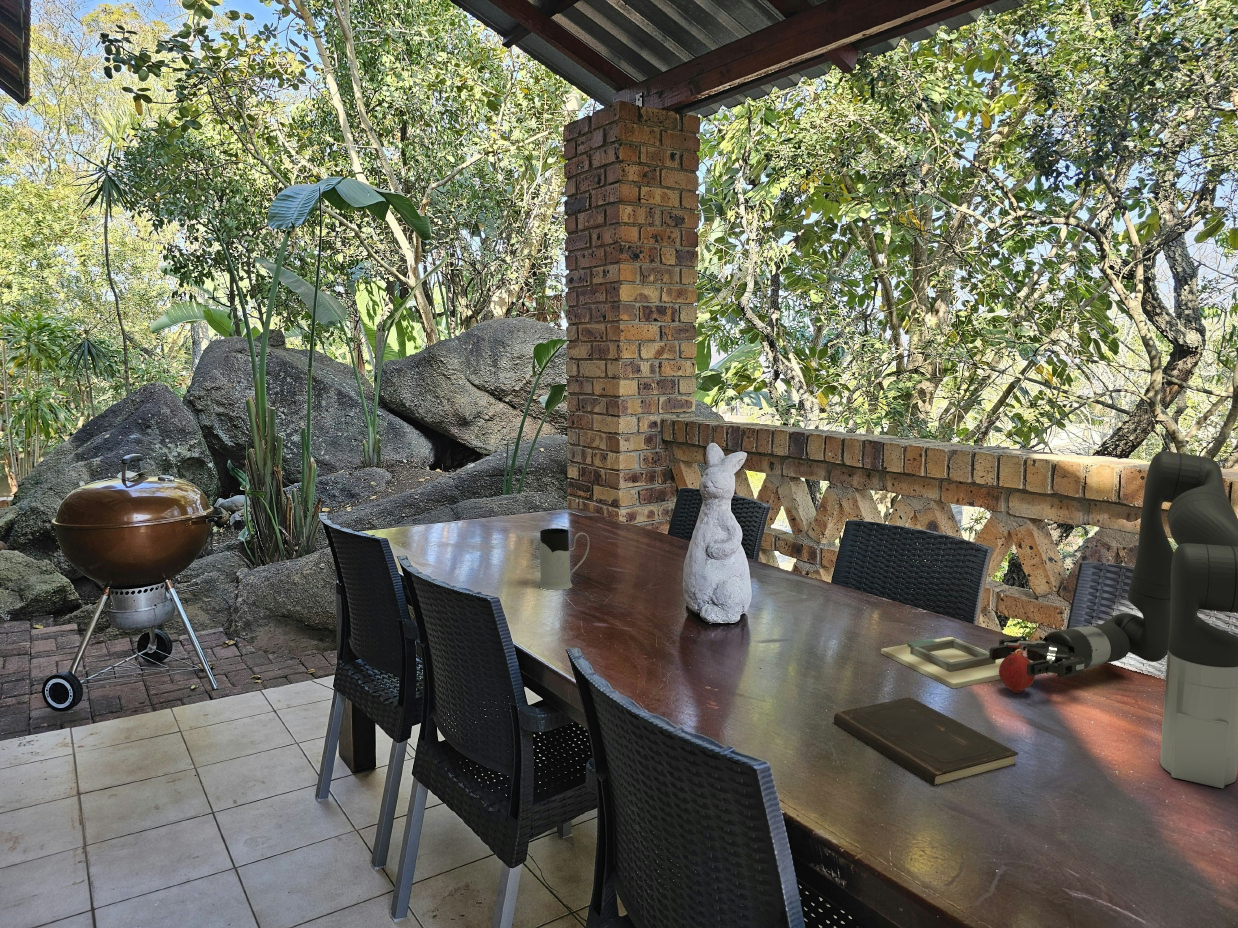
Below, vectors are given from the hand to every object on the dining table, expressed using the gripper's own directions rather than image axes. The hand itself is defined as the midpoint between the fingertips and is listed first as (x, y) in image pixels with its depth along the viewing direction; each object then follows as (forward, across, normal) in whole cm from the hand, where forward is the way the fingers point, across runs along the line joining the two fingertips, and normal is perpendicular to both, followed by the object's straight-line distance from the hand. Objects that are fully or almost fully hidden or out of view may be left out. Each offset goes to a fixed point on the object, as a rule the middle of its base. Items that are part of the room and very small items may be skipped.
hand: (1009, 661), depth 152 cm
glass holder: (+49, -102, +6) cm, 113 cm away
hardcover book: (+27, +9, +7) cm, 29 cm away
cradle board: (-2, -16, +6) cm, 17 cm away
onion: (-2, 0, +6) cm, 6 cm away
